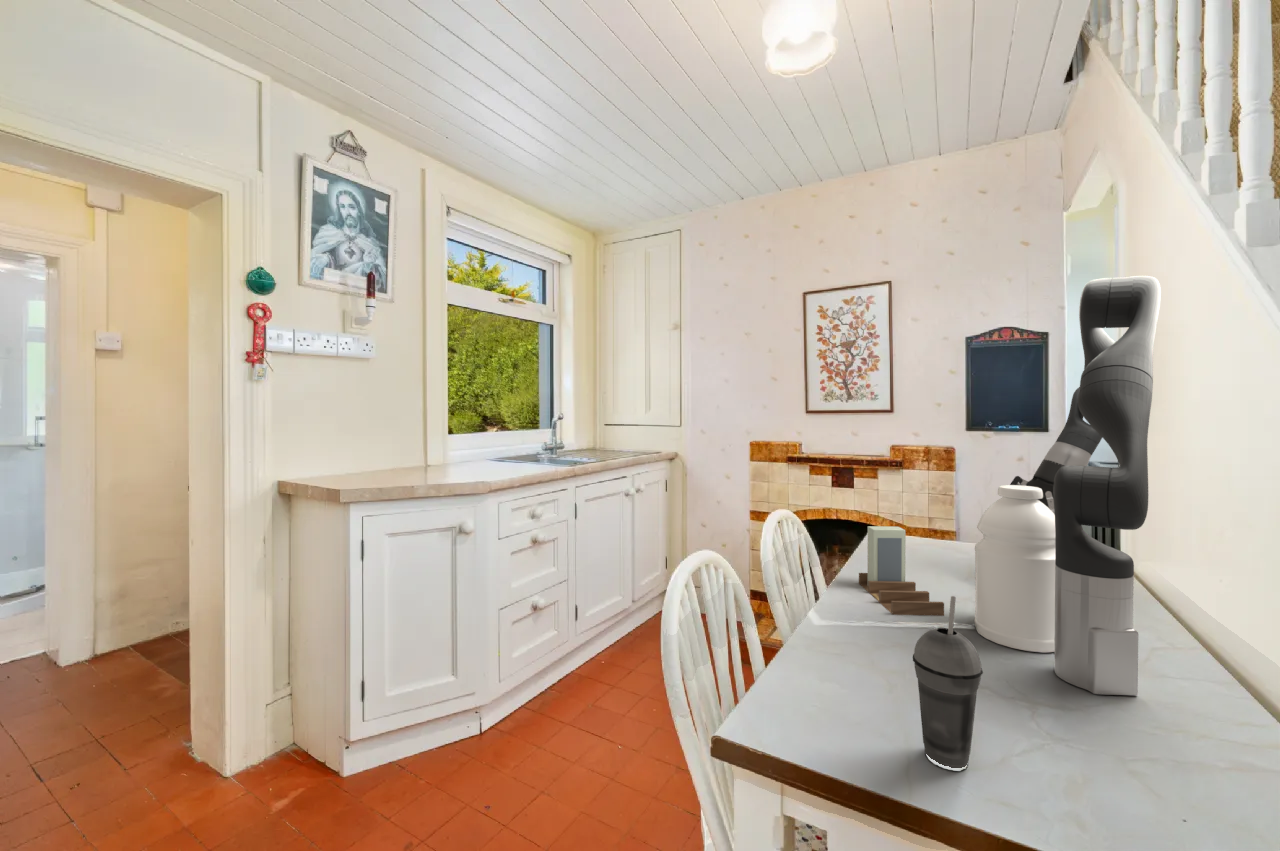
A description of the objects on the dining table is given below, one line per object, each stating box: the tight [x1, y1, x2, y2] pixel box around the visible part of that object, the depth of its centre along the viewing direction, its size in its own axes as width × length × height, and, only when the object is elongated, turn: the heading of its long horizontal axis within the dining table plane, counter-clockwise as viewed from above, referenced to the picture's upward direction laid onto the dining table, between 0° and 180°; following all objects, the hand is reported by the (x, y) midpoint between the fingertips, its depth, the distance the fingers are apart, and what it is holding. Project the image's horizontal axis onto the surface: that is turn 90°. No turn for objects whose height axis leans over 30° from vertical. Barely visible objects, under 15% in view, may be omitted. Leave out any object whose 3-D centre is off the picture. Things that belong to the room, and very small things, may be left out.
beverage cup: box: [912, 595, 984, 768], centre depth 63 cm, size 7×7×20 cm
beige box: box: [866, 525, 907, 585], centre depth 122 cm, size 4×7×14 cm, turn 86°
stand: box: [858, 572, 945, 617], centre depth 116 cm, size 20×10×4 cm, turn 176°
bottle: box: [973, 484, 1056, 653], centre depth 98 cm, size 14×14×28 cm
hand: (1025, 527), depth 122 cm, fingers open, 8 cm apart
